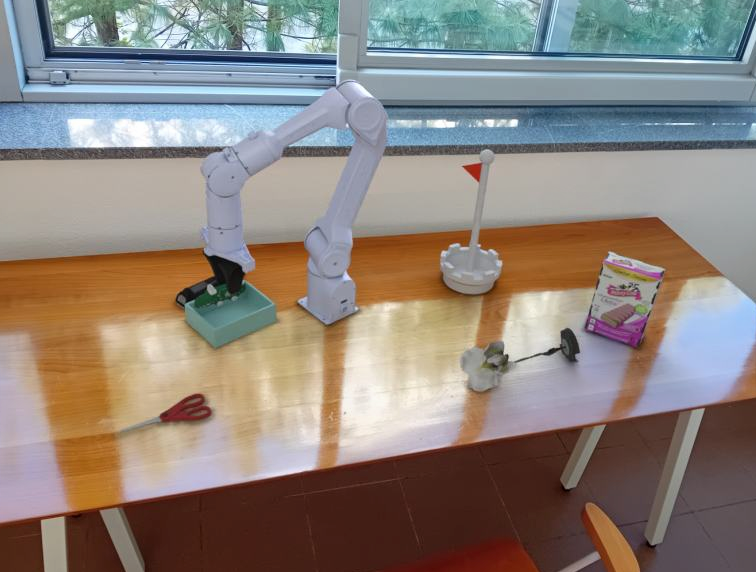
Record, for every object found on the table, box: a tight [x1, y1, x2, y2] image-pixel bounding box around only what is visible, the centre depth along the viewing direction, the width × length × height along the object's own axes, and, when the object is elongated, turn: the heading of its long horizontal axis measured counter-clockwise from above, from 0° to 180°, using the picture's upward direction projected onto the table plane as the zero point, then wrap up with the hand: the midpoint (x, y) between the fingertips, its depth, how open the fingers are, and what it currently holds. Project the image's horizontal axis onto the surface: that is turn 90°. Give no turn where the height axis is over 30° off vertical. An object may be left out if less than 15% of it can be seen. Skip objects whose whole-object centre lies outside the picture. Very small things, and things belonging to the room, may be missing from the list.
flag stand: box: [439, 148, 503, 295], centre depth 149 cm, size 13×13×30 cm
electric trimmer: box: [175, 273, 247, 309], centre depth 144 cm, size 4×16×3 cm, turn 142°
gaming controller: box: [194, 280, 246, 308], centre depth 133 cm, size 9×4×6 cm, turn 135°
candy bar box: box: [584, 251, 666, 349], centre depth 141 cm, size 11×5×16 cm, turn 65°
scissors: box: [115, 393, 212, 434], centre depth 114 cm, size 5×14×1 cm, turn 123°
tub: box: [184, 279, 277, 349], centre depth 136 cm, size 10×13×4 cm
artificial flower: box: [459, 327, 581, 392], centre depth 131 cm, size 9×22×10 cm, turn 110°
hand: (228, 287), depth 132 cm, fingers closed on gaming controller, 3 cm apart
